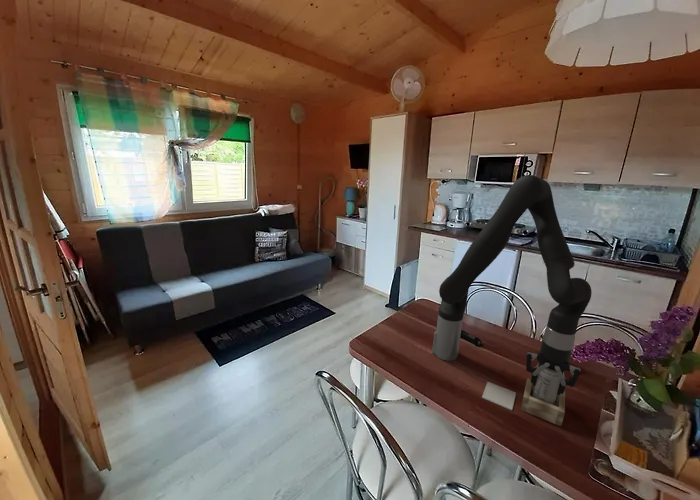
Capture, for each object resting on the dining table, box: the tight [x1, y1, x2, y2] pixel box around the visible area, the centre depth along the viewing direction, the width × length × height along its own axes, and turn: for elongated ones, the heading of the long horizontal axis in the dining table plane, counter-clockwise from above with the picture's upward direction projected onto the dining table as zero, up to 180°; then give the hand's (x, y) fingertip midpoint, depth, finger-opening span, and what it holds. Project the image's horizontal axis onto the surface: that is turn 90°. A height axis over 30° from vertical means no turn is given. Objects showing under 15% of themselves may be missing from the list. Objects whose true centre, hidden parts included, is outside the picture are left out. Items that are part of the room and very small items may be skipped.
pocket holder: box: [520, 377, 566, 427], centre depth 96 cm, size 11×11×5 cm
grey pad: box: [481, 381, 517, 411], centre depth 101 cm, size 9×9×1 cm
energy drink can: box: [531, 368, 560, 406], centre depth 95 cm, size 6×6×15 cm
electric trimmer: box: [460, 329, 483, 347], centre depth 134 cm, size 4×16×3 cm, turn 34°
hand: (545, 388), depth 95 cm, fingers closed on energy drink can, 6 cm apart
